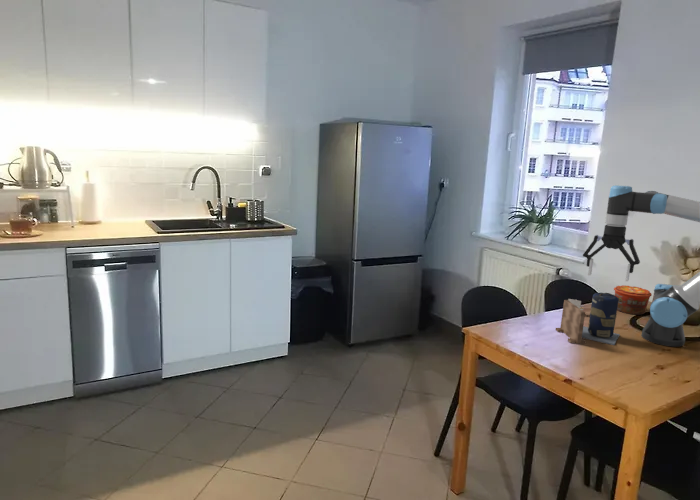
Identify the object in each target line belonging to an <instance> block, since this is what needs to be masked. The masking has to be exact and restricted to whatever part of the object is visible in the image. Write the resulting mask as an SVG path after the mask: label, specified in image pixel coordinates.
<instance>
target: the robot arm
mask: <svg viewBox="0 0 700 500" xmlns="http://www.w3.org/2000/svg"><path fill="white" fill-rule="evenodd" d="M607 201H608V202H607V208H606V209H607V210H606V213H605V214H606V217H605V222H604V223H605V225H604V229H603V235H599V234H596V235H594V237H593V240H592V242H591V243H590V245H589V246H588V248H586V250H585V251H584V253H583V254H582V257H583V258H586V267H588V272H587V275H588V276H591V275H592V272H593V263H594V258H593V257H595V255H597V254H598V253H599V252H601V250H603V249H604V248H605V247H606V248H607V249H613V250H619V251H620V252H621V254H622V255H623V256H624V257H625V259H626V260H627V263H628V265H627V269H626V274H625V275H626V276H625V282H629V279H630V275H631V274H633V272H634V269H635V265H639V264H640V263H641V261H640V258H639V255H638V254H637V251H636V248H635V245H634V242H635V241H634V239H633V238H630V239H626V231H627V227H626V226H627V224H628V220H629V218H628V217H629V213H630V212H635V213H637V212H638V213H645V214H653V215H655V214H658V215H659V214H660V215H663V214H664V215H668V216H672V217H677V218H680V219H684V220H689V221H693V222H696V223H700V201H697V200H693V199H689V198H686V197H685V198H684V197H680V196H676V195H670V194H665V193H661V192H658V191H655V190H647V191H646V192H640V191H639V192H638V191H633V187H632V186H629V185H619V184H618V185H616V184H615V185H612V186H611V187H610V190H609V195H608V200H607ZM600 240H601V241H602V244H601V245H599V247H597V248H596V249H595V250H594V251H593V252H592V253H590V252H591V250H592V249H593V248H594V246H595V245H596V244H597V242H600ZM625 243H626V244H627V246H629V249H630V251H631V252H630V253H631V254H632V257H633V258H632V257H631V256H630V254H629V253H628V251H627V250H626V249H625V247H624V244H625ZM633 259H634V260H633ZM652 297H653V298H652V301H651V304H650V307H649V313H650V315H649V318H648V320H647V322H646V323H645V325H644V327H643V328H642V331H641V338H643V339H644V340H646V341H647V342H651V343H654V344H657V345H661V346H666V347H672V348H673V347H674V348H677V347H678V348H679V347H683V346H685V343H686V337H685V330H684V323H685V322H686V320H687V319H688V318H689V317H690V316H691V315H693V314H695V312H696V313H697V311H698V310H699V309H700V271H699V272H697V273H696V274H694V275H693V276H692V277H690V278H689V279H688V280H687V281H685V282H684V283H682V284H681V285H677V284H676V285H675V284H674V285H673V284H665V283H657V284H655V286H654V289H653V295H652Z"/></svg>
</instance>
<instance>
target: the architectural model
mask: <svg viewBox="0 0 700 500" xmlns="http://www.w3.org/2000/svg"><path fill="white" fill-rule="evenodd" d="M567 300H568V301H570V302H571V303H573V304H574V305H575V306H577V307H578V308H580V309H581V310H582V311H584V309H585V308H584V307H581V305H582V300H577V299H573V298H572V299H571V298H568V299H567Z"/></svg>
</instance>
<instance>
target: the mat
mask: <svg viewBox="0 0 700 500" xmlns="http://www.w3.org/2000/svg"><path fill="white" fill-rule="evenodd" d="M619 337H620V334H619V333H615V332H614V333H613V336H611V337H608V338H604V337H598V336H594V335H592V334H590V333H589V332H588V326H584V325H583V332H582V339H584V340H591V341H593V342H594V341H595V342H598V343H601V344H602V343H603V344H607V345H611V346H615V345H616V343H617V341H618V340H619Z"/></svg>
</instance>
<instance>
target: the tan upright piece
mask: <svg viewBox="0 0 700 500" xmlns="http://www.w3.org/2000/svg"><path fill="white" fill-rule="evenodd" d="M585 318H586V311H584V310H581V309H580V308H578V307H577V306H575V305H574V304H573V303H571V302H570V301H568V299H564V300H563V306H562V314H561V319H560V321H561V322H560V327H555V331H556V332H557V333H564V334H565V336H567V337H568V338H567V342H568V343H569V344H576V345H581V344H583V345H585V344H586V342H587V341H586V339H585V338H582V332H583V326H584V324H585Z"/></svg>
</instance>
